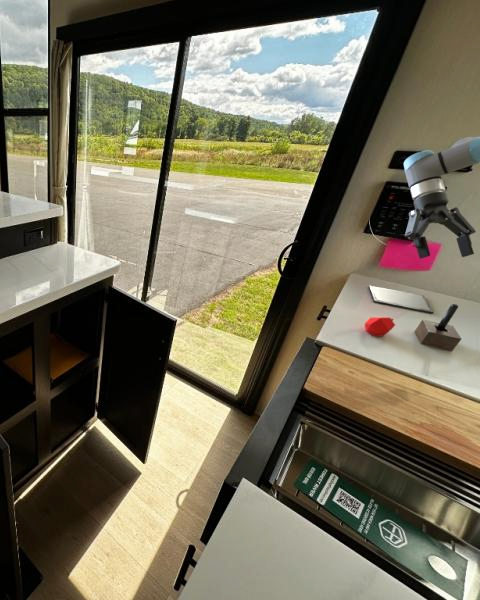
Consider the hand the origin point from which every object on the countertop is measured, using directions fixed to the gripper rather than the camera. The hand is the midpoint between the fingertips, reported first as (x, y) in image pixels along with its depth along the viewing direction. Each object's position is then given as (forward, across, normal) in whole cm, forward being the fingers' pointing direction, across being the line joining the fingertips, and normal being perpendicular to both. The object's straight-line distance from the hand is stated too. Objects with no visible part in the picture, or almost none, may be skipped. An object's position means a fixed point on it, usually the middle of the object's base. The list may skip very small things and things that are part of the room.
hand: (446, 256), depth 101 cm
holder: (+26, +4, -7) cm, 28 cm away
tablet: (+9, -6, -24) cm, 27 cm away
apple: (+23, +18, -11) cm, 31 cm away
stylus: (+26, +4, -7) cm, 28 cm away
